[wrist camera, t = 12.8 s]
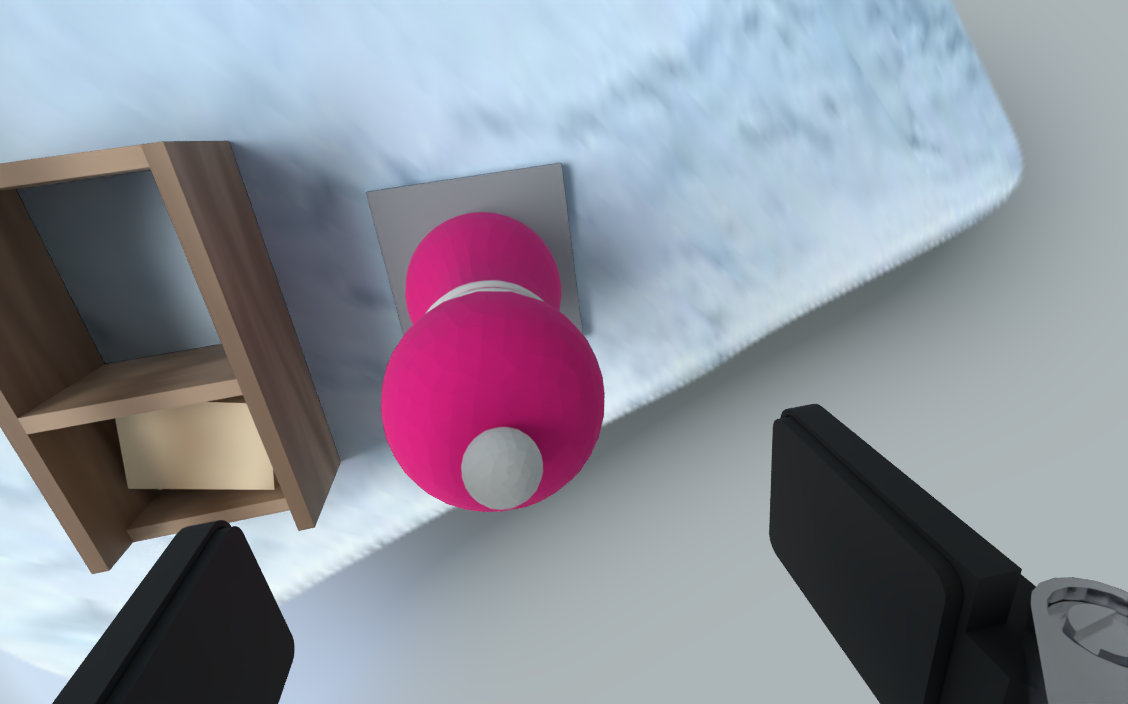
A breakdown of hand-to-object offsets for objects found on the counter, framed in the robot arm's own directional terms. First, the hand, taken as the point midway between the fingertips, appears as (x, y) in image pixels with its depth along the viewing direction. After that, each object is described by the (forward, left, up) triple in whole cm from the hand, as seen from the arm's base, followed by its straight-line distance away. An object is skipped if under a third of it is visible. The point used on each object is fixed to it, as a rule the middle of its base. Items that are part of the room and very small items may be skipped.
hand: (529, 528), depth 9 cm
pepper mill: (0, 0, -22) cm, 22 cm away
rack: (+16, +1, -22) cm, 28 cm away
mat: (0, 0, -22) cm, 22 cm away
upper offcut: (+16, +6, -21) cm, 27 cm away
